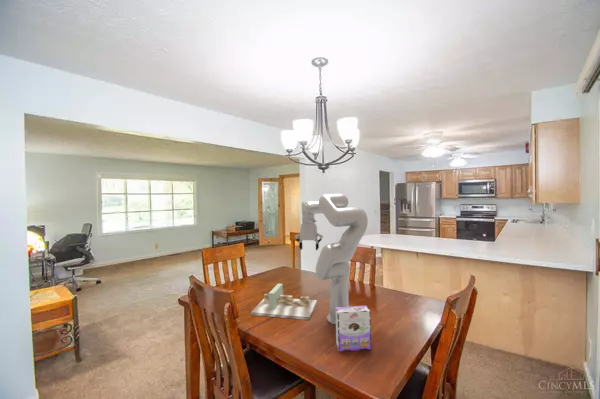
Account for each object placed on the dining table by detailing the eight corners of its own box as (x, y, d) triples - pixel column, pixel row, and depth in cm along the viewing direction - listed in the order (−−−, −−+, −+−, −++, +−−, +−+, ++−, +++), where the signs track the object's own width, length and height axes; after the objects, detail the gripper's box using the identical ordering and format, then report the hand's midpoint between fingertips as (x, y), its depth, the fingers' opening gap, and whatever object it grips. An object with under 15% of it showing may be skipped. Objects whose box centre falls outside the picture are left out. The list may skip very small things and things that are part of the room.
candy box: (367, 342, 119) (366, 304, 118) (371, 350, 113) (370, 310, 112) (335, 343, 118) (335, 306, 118) (338, 351, 112) (337, 312, 112)
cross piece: (278, 298, 166) (277, 283, 166) (283, 298, 166) (282, 283, 165) (269, 309, 151) (268, 293, 150) (274, 309, 150) (273, 293, 150)
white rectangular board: (316, 302, 162) (316, 291, 162) (309, 320, 140) (309, 307, 140) (265, 299, 169) (265, 288, 169) (251, 314, 148) (250, 303, 148)
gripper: (323, 220, 168) (324, 248, 168) (296, 220, 172) (296, 247, 172) (321, 222, 161) (322, 251, 161) (292, 222, 165) (293, 250, 165)
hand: (309, 249), depth 167 cm, fingers open, 9 cm apart
